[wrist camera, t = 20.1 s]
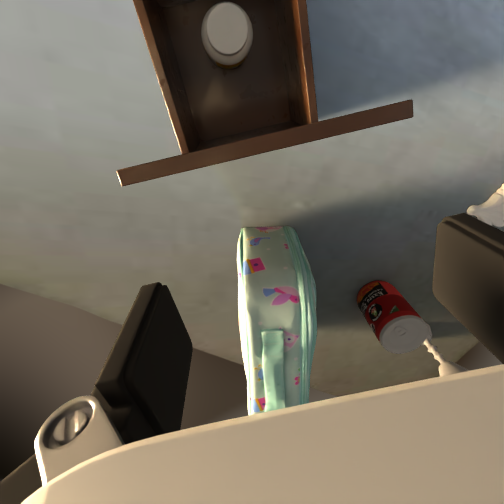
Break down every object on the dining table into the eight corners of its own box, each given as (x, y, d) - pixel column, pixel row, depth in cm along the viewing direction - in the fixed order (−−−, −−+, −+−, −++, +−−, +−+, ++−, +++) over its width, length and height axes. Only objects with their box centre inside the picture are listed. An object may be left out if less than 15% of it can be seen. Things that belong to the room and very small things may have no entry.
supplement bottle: (196, 47, 36) (186, 32, 28) (223, 5, 35) (221, -25, 26) (231, 80, 38) (231, 75, 30) (258, 41, 36) (266, 25, 28)
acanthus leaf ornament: (504, 181, 48) (514, 184, 46) (518, 209, 51) (528, 213, 49) (462, 211, 50) (470, 215, 48) (477, 238, 53) (486, 242, 51)
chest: (154, 4, 35) (120, -38, 24) (275, -28, 34) (297, -86, 23) (197, 148, 42) (185, 166, 32) (296, 124, 42) (319, 134, 31)
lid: (115, 170, 14) (121, 186, 15) (412, 98, 14) (414, 116, 14) (184, 163, 31) (186, 170, 31) (320, 130, 30) (321, 138, 31)
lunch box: (294, 336, 61) (323, 444, 42) (244, 341, 60) (251, 452, 41) (294, 213, 48) (336, 289, 29) (231, 219, 48) (232, 299, 29)
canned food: (371, 273, 55) (401, 311, 45) (403, 288, 57) (439, 327, 47) (347, 303, 58) (371, 345, 48) (378, 316, 60) (407, 359, 50)
